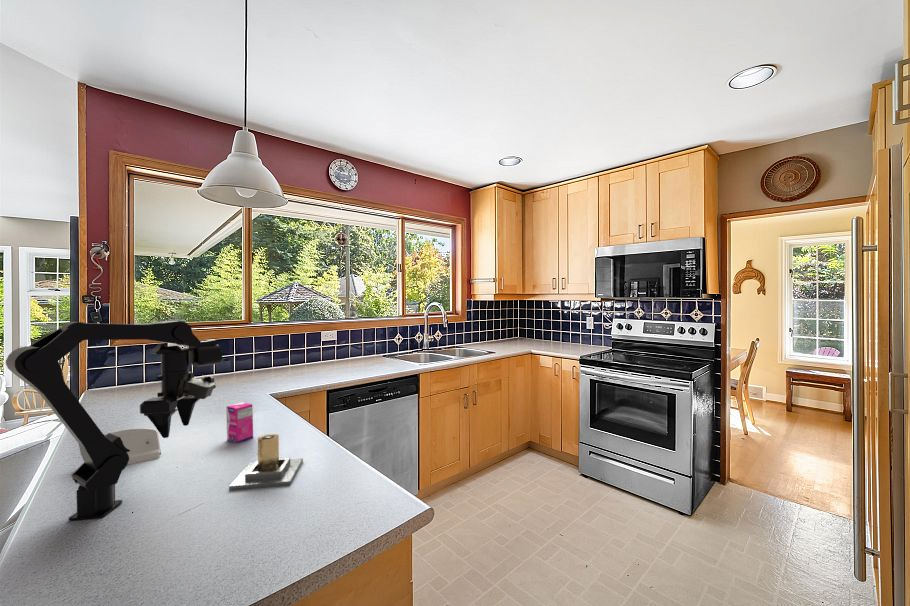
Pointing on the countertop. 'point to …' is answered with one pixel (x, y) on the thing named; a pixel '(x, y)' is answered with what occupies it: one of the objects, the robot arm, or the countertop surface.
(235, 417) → the supplement box
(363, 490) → the countertop surface
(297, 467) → the flange plate
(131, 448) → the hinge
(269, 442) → the brass cylinder
